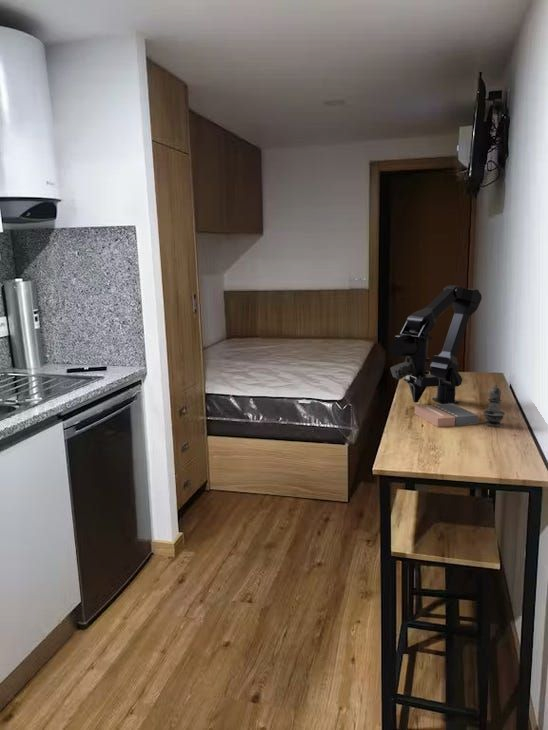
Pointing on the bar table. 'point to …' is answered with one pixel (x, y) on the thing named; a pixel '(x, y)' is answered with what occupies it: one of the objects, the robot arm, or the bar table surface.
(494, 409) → the dark grey tiered figure
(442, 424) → the pink block
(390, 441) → the bar table surface
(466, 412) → the grey flat block
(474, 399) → the bar table surface
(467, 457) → the bar table surface
